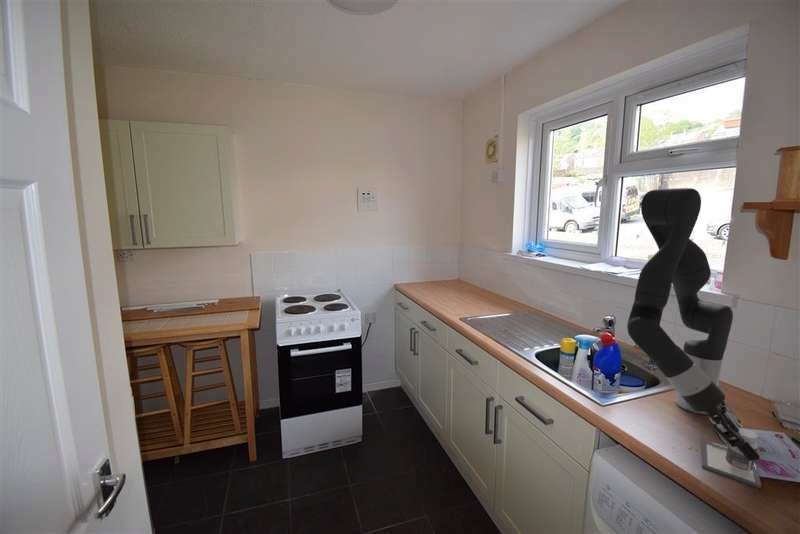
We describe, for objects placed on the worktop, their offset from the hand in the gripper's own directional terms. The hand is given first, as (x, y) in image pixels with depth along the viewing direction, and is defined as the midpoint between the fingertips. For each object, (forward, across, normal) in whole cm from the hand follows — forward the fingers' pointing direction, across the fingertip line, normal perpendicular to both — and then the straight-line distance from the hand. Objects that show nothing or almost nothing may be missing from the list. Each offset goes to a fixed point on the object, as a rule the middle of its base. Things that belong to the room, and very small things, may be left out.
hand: (753, 452), depth 81 cm
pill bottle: (+2, 0, +4) cm, 5 cm away
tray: (+2, +2, +7) cm, 7 cm away
